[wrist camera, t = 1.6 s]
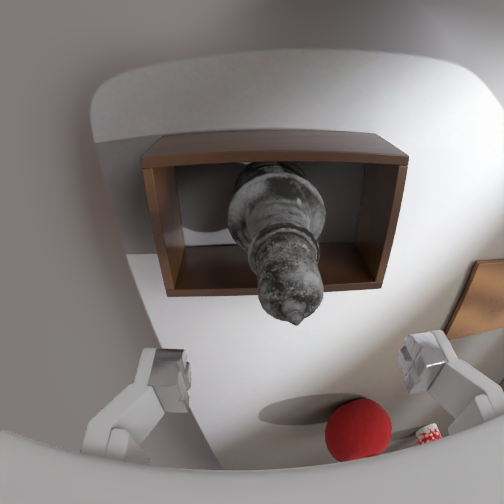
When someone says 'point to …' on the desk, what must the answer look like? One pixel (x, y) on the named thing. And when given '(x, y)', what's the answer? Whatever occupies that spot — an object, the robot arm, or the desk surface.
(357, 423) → the apple
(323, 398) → the desk surface
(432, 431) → the beverage cup
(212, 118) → the desk surface
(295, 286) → the grey stone turned piece
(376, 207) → the open wooden box
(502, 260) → the trivet
